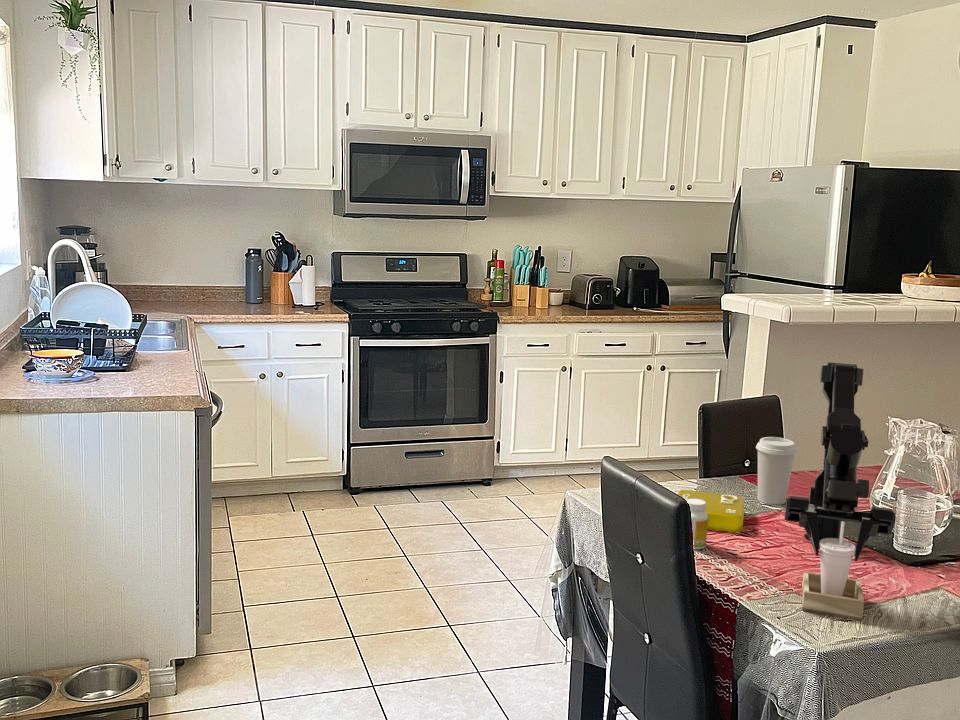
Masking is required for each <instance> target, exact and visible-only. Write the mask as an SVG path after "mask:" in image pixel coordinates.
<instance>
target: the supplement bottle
mask: <svg viewBox="0 0 960 720" xmlns="http://www.w3.org/2000/svg"><path fill="white" fill-rule="evenodd" d="M687 503H688V504H689V506H690V511H691V518H692V528H693V540H694V548H695V549H694V550H702V549H705V548H706V546H707V545H706V544H707V537H708V536H707V535H708V530H707V526H708V514H707V512H706V511H704V510H705V508H706V502H705V501H703V500H700V499H688V500H687Z"/></svg>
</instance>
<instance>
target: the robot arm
mask: <svg viewBox="0 0 960 720" xmlns="http://www.w3.org/2000/svg"><path fill="white" fill-rule="evenodd" d="M863 379H864V368H861V367H858V365H857V364H854V363H853V364H851V363H841V362H830V361H828V362H827V364H826V365H822V366H821V368H820V376H819V382H820V383H822V389H821V390H822V391H821V392H822V394H823V396H824V397H825V399H826V401H827V404H828V407H827V408H828V409H827V417H826V423H825V425H823V426H822V427H821V436H820V444H821V446H822V447H823V448H824V449H823V450H824V451H823V452H824V453H823V465H822V470H821V471H820V473H819V474H817V476H816V478H815V479H814V481H813V486H810V488H809V489H810V490H809V494H808V495H809V496H808V497H800V496H796V495H795V496H794V495H793V496H792V495H789V496H787V497H786V501H785V511H784V520H785V521H786V522H791V523H796V524H797V523H798V527H801V528H804V530H805V532H806V533H804V538H806V539H807V540H809V541H810V543H811V547H812V548H813V551H814V555H815V556H816V557H818V556H819V553H820V552H819V551H820V549H819V541H820V540H822V539H825V538H836V539H839V538H840V530H841V522H842V521H844V522H845V521H846V522H852V523H860V527H859V530H858V535H857V541H856V545H855V546H856V553H855V554H854V562H858V560H859V558H860V555H861V553H862V550H863V549H864V546H865V544H866V543H867V541H868V540H869V538H870V537H873V538H874V537H876V536H877V534H879V535H885V536H888V535H891V534H892V533H893V529H894V528H895V524H896V512H895V511H894V510H893V509H892V508H887V507H879V506H871V509H870V512H863V511H856V508H858V504H859V499H860V498H861V499H868V497H869V494H870V480H869V479H861V478H859V479H857V478H858V477H857V476H858V475H857V471H858V465H859V463H860V460H861V456H862V451H865V448H869V439H868V436H867V435H866V434H865V430H862V421H861V418H860V417H859V416H858V415H857V413H855V396H856V395H857V393H858V391H859V390H858V388H859V387H862V386H863V381H864V380H863Z"/></svg>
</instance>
